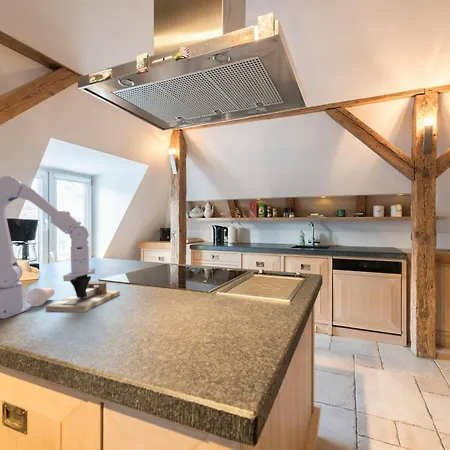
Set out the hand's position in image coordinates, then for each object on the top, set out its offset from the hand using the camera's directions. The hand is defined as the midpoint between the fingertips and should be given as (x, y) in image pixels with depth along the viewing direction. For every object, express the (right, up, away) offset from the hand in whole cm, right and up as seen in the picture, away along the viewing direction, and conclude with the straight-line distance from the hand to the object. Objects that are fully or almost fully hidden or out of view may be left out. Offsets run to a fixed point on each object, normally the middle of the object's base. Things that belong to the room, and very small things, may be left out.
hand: (80, 297), depth 105 cm
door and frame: (0, -2, +3) cm, 4 cm away
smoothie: (-16, 0, +8) cm, 17 cm away
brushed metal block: (+1, 0, +6) cm, 6 cm away
